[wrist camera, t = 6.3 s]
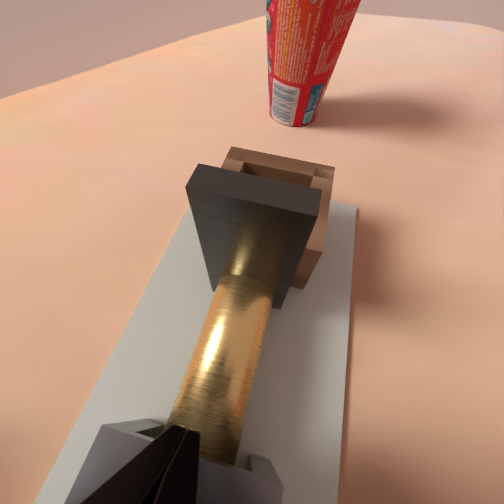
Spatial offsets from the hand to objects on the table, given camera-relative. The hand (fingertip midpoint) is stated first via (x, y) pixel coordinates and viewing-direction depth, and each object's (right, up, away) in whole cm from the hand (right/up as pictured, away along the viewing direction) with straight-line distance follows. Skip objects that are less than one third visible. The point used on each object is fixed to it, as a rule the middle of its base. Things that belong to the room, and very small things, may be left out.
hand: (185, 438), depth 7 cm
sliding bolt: (+1, +1, +8) cm, 8 cm away
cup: (+6, +21, +21) cm, 30 cm away
